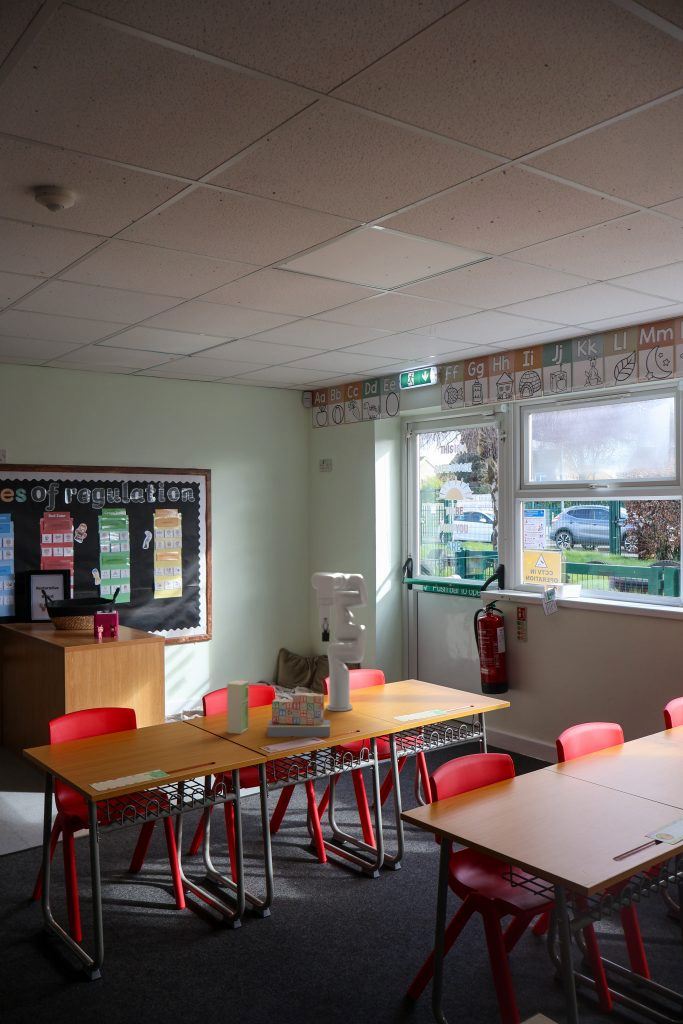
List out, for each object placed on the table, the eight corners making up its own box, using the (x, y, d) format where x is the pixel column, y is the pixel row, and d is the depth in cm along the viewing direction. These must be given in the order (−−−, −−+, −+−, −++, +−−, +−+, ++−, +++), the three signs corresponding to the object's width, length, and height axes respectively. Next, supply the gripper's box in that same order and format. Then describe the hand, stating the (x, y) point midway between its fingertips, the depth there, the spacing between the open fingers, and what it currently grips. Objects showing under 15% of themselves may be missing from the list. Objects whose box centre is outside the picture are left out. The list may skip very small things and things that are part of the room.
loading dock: (269, 729, 368) (269, 719, 368) (330, 729, 368) (330, 719, 368) (267, 736, 356) (267, 726, 356) (329, 736, 356) (329, 726, 356)
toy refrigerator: (242, 734, 360) (242, 684, 360) (226, 733, 362) (226, 683, 362) (250, 729, 367) (250, 681, 368) (235, 728, 370) (235, 680, 370)
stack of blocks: (271, 723, 361) (271, 694, 362) (275, 720, 367) (275, 691, 368) (320, 725, 357) (321, 695, 358) (324, 722, 363) (324, 693, 364)
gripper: (317, 599, 392) (317, 637, 392) (316, 603, 375) (316, 642, 374) (334, 599, 392) (334, 637, 392) (333, 603, 375) (334, 642, 374)
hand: (325, 639), depth 383 cm, fingers open, 9 cm apart
